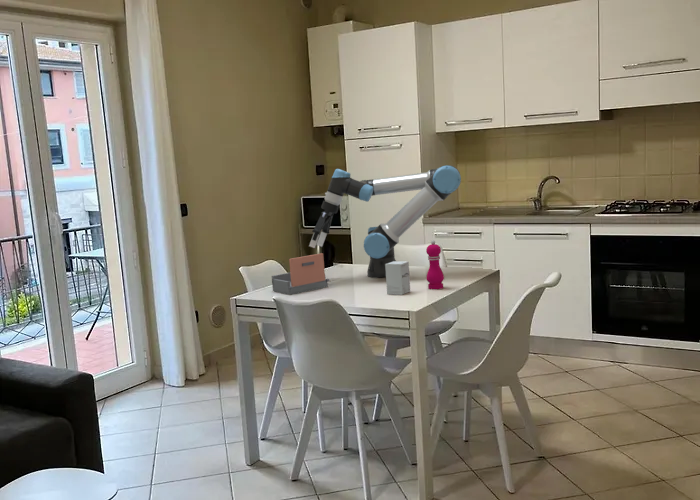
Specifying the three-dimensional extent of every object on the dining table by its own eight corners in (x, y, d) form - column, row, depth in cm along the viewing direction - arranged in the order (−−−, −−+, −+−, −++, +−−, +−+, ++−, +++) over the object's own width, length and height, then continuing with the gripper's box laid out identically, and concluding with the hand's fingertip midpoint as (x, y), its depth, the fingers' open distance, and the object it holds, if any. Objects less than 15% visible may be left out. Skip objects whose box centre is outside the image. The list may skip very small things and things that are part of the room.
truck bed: (271, 291, 311) (270, 276, 310) (310, 283, 324) (309, 268, 323) (290, 295, 299) (288, 279, 298) (329, 286, 312) (328, 271, 311)
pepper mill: (446, 286, 293) (443, 238, 290) (442, 289, 286) (439, 241, 284) (429, 286, 295) (426, 239, 293) (425, 290, 289) (422, 241, 286)
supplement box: (402, 295, 282) (400, 264, 280) (386, 294, 286) (384, 263, 284) (411, 291, 288) (409, 261, 287) (395, 290, 292) (393, 260, 290)
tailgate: (291, 286, 301) (289, 258, 300) (323, 280, 311) (321, 253, 310) (293, 286, 300) (291, 259, 298) (326, 280, 310) (323, 253, 308)
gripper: (330, 200, 330) (315, 242, 333) (317, 199, 306) (300, 244, 308) (345, 205, 329) (329, 248, 332) (332, 205, 305) (316, 250, 307)
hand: (315, 246), depth 320 cm, fingers open, 13 cm apart
